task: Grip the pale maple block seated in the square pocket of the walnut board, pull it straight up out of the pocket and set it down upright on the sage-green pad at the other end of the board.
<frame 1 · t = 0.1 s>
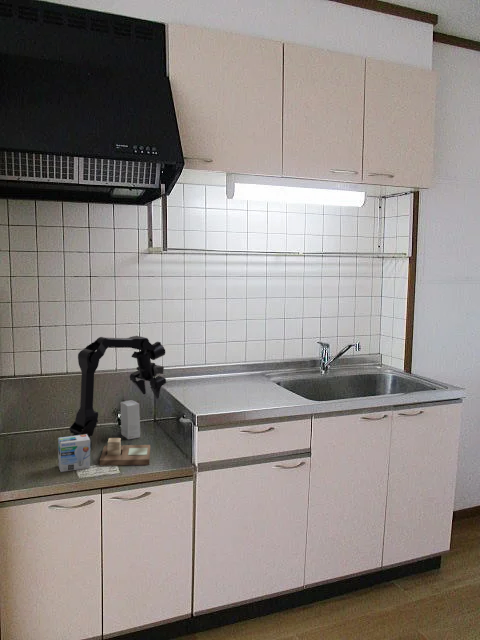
hand: (151, 396, 231), 15 cm above the countertop, tool pointing down, fingers open, 9 cm apart
light bulb box: (74, 467, 191), on the countertop
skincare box: (130, 436, 225), on the countertop
maple block: (114, 457, 200), resting in pocket board
pocket board: (126, 457, 201), on the countertop
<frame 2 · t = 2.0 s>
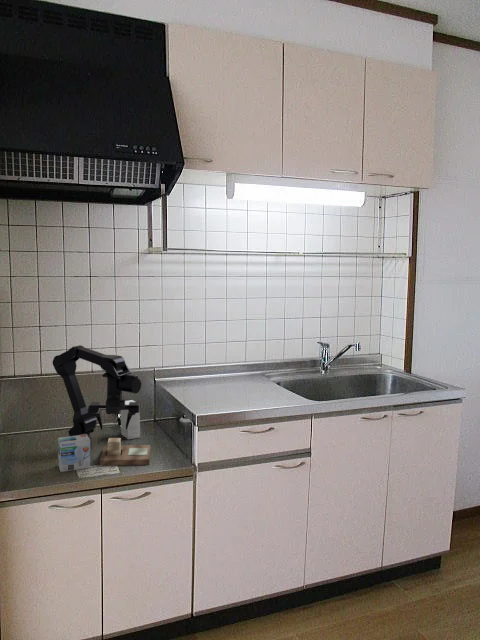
hand: (114, 429, 199), 11 cm above the countertop, tool pointing down, fingers open, 9 cm apart
nothing on the countertop moved.
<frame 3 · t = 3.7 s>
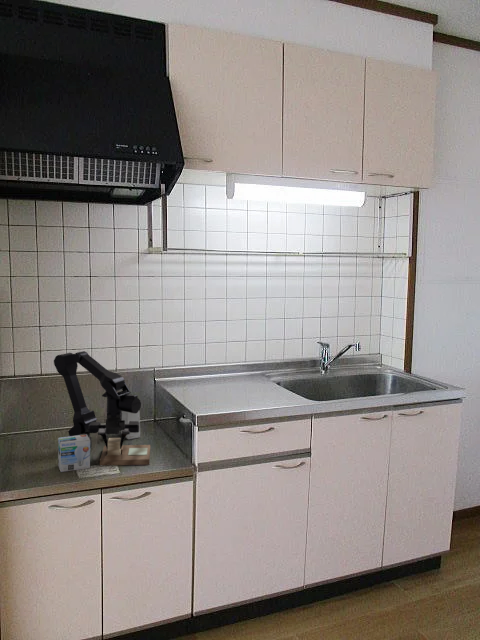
hand: (114, 448, 200), 4 cm above the countertop, tool pointing down, fingers closed on maple block, 4 cm apart
maple block: (114, 457, 200), resting in pocket board, touching gripper
everything else where it was.
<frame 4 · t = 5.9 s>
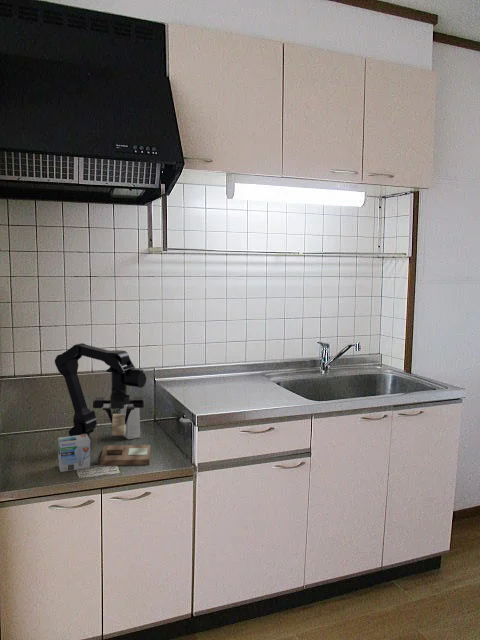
hand: (119, 424, 199), 13 cm above the countertop, tool pointing down, fingers closed on maple block, 4 cm apart
maple block: (118, 433, 199), point 10 cm above the countertop, touching gripper
everything else where it was.
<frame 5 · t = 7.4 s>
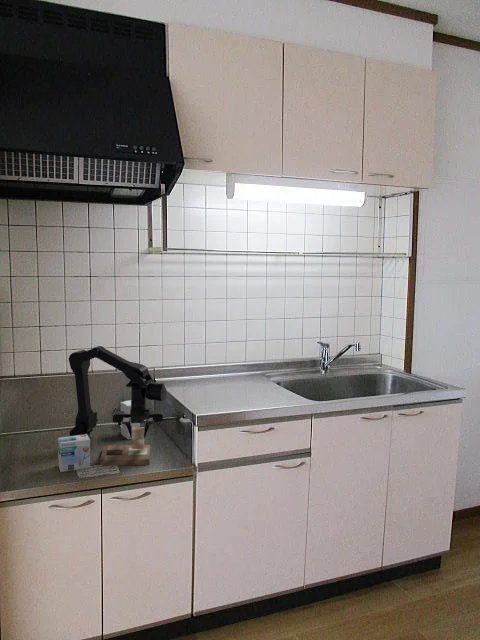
hand: (137, 437, 201), 8 cm above the countertop, tool pointing down, fingers closed on maple block, 4 cm apart
maple block: (137, 446, 201), point 4 cm above the countertop, touching gripper
everything else where it was.
when the fingers open (7 cm above the countertop, at t = 8.3 s): maple block drops 1 cm, resting on pocket board.
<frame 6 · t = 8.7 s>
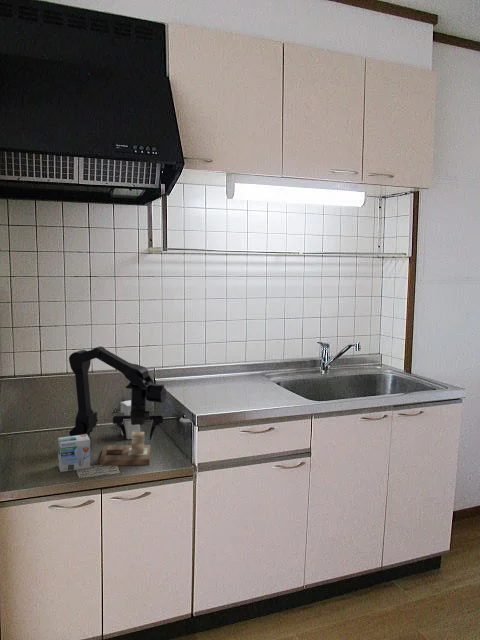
hand: (138, 439, 201), 7 cm above the countertop, tool pointing down, fingers open, 9 cm apart
maple block: (137, 451, 201), point 2 cm above the countertop, touching pocket board
everything else where it was.
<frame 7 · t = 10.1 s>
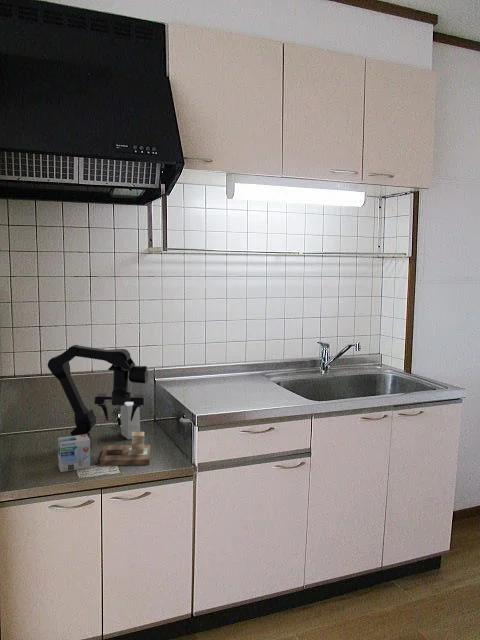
hand: (119, 420, 205), 13 cm above the countertop, tool pointing down, fingers open, 9 cm apart
nothing on the countertop moved.
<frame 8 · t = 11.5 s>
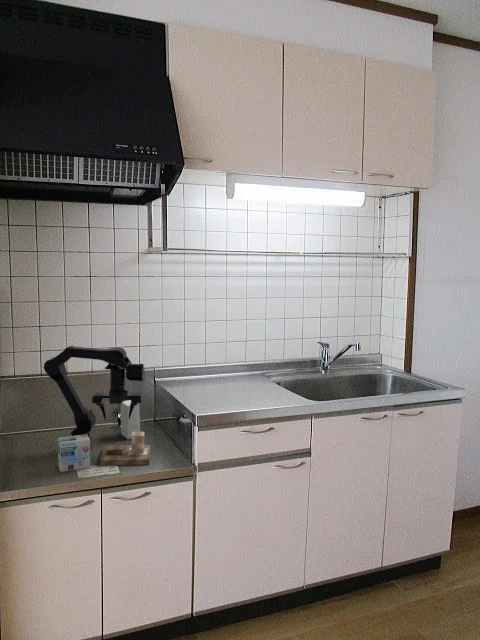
hand: (117, 419, 206), 13 cm above the countertop, tool pointing down, fingers open, 9 cm apart
nothing on the countertop moved.
at the end: maple block 0.1 cm from the target spot on the pocket board, point 2.3 cm above the pocket board's base; maple block tilted 0°; the gripper is holding nothing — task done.
